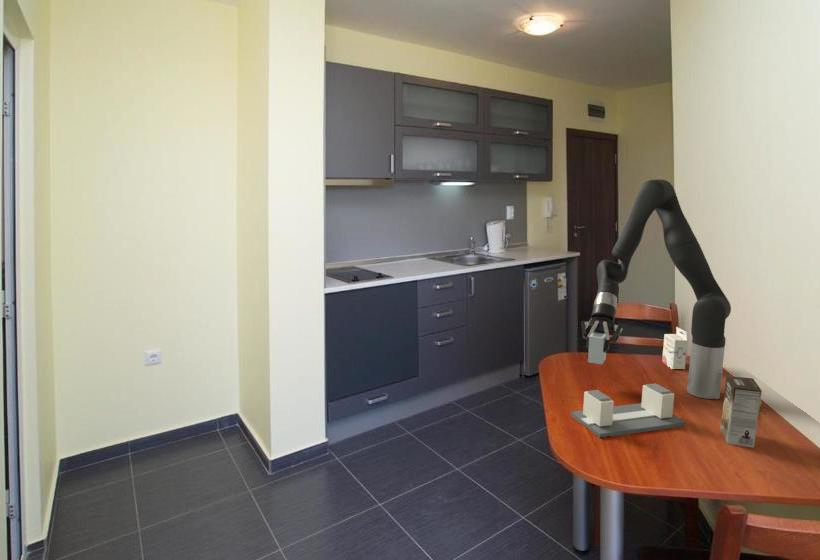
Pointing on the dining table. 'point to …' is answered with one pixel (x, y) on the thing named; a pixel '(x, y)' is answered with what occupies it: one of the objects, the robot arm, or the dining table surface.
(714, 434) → the dining table surface
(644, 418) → the mounting board
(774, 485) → the dining table surface
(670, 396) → the module
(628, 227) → the robot arm
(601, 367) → the dining table surface
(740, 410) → the coffee box
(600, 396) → the module
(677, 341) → the ink cartridge box
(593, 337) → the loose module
